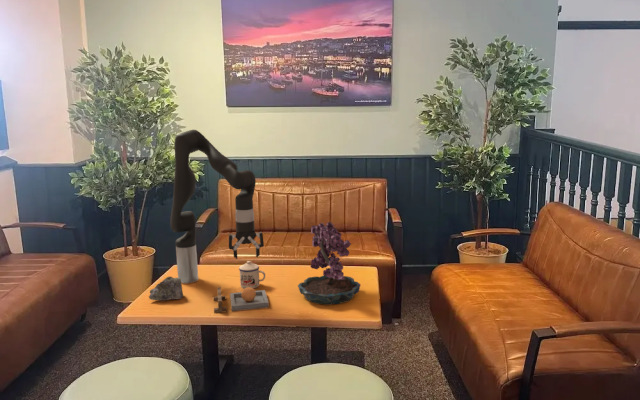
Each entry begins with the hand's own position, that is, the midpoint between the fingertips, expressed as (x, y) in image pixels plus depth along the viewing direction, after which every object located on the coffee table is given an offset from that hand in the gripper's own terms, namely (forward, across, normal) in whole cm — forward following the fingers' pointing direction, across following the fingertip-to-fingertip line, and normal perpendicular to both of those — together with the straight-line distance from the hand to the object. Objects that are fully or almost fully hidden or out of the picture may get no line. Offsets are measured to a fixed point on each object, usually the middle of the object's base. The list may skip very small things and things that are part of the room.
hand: (246, 257), depth 226 cm
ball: (+16, 0, 0) cm, 16 cm away
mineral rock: (+20, -34, +14) cm, 42 cm away
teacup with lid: (+20, +3, +20) cm, 28 cm away
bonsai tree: (+20, +35, +1) cm, 40 cm away
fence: (+20, -12, 0) cm, 23 cm away
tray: (+20, 0, 0) cm, 20 cm away
